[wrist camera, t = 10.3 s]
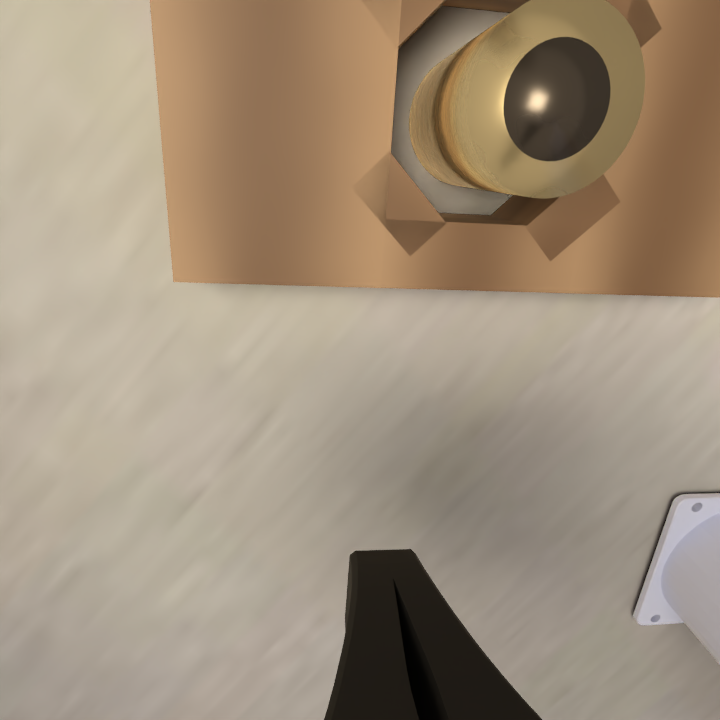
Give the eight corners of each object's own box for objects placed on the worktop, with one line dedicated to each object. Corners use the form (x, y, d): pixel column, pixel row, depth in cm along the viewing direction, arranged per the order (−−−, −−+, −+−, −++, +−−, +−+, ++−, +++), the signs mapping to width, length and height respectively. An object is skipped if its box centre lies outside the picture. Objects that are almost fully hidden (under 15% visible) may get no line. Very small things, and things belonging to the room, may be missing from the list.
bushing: (536, 55, 16) (666, -3, 10) (518, 187, 17) (622, 200, 12) (413, 47, 15) (479, -18, 10) (405, 184, 17) (458, 196, 11)
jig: (817, -211, 14) (945, -302, 11) (674, 278, 19) (738, 297, 16) (154, -328, 12) (109, -479, 9) (194, 262, 17) (173, 281, 14)
